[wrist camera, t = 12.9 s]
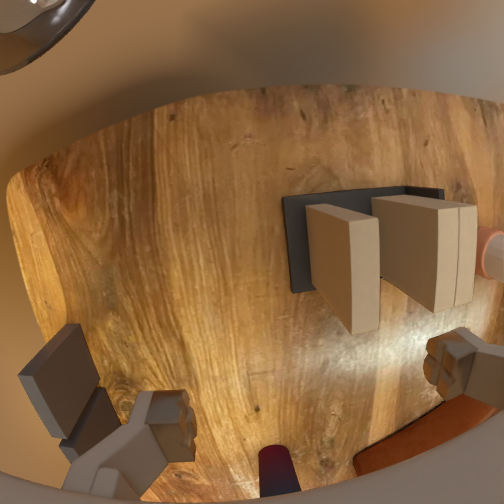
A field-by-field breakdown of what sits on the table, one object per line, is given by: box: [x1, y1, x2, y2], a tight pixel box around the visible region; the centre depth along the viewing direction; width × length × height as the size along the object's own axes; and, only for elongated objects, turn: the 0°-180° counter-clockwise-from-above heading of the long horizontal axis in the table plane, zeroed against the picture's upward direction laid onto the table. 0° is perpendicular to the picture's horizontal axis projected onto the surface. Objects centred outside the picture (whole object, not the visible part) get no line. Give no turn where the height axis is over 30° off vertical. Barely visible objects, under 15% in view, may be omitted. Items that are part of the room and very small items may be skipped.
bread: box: [353, 394, 501, 477], centre depth 38 cm, size 14×33×16 cm, turn 117°
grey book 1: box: [18, 324, 100, 439], centre depth 30 cm, size 9×2×13 cm, turn 7°
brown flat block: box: [305, 203, 380, 336], centre depth 28 cm, size 9×2×13 cm, turn 7°
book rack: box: [282, 186, 477, 314], centre depth 29 cm, size 11×16×14 cm
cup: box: [258, 445, 301, 498], centre depth 36 cm, size 7×7×15 cm
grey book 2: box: [59, 388, 122, 464], centre depth 33 cm, size 9×2×13 cm, turn 7°
